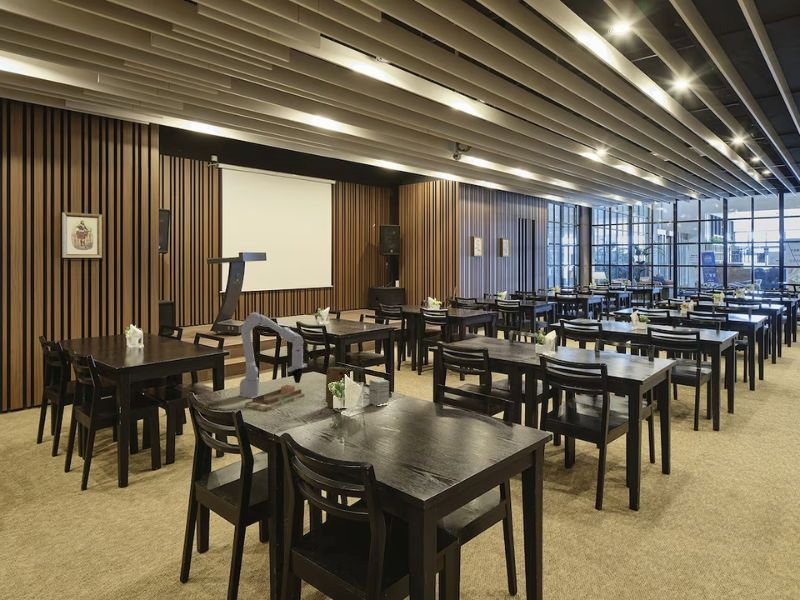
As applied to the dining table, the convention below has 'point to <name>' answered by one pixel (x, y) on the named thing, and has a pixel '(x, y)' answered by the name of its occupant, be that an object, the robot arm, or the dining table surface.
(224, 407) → the dining table surface
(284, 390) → the block terracotta
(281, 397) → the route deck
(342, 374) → the block
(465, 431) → the dining table surface
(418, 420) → the dining table surface
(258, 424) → the dining table surface
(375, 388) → the supplement box
